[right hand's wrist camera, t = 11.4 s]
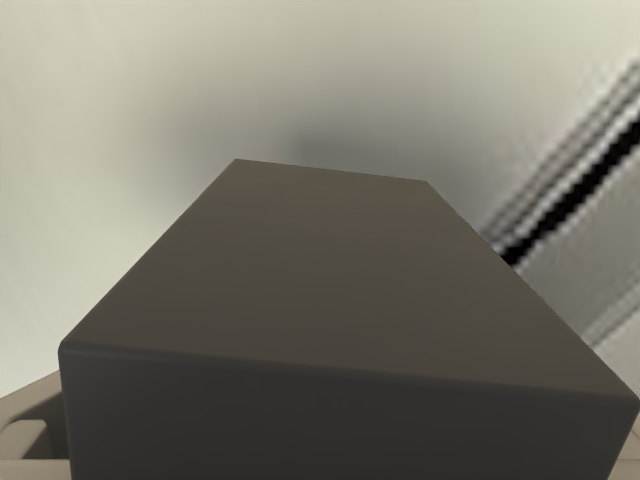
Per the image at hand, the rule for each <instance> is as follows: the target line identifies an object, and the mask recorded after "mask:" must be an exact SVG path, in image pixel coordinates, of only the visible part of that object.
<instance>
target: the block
mask: <svg viewBox="0 0 640 480" xmlns="http://www.w3.org/2000/svg"><path fill="white" fill-rule="evenodd" d="M58 359H59V368H60V378H61V387H62V396H63V406H64V415H65V424H66V434H67V443H68V452H69V462H70V471H71V480H608V477H609V475H610V473H611V471H612V469H613V467H614V465H615V463H616V460H617V458H618V456H619V454H620V452H621V450H622V448H623V446H624V443H625V441H626V439H627V437H628V435H629V433H630V431H631V429H632V427H633V424H634V422H635V420H636V418H637V416H638V414H639V412H640V399H639V397H638V396H637V395H636V394H635V393H634V392H633V391H632V390H631V389H630V388H629V387H628V386H627V385H626V384H625V383H624V382H623V381H622V380H621V379H620V378H619V377H618V376H617V375H616V374H615V373H614V372H613V371H612V370H611V369H610V368H609V367H608V366H607V365H606V364H605V363H604V362H603V361H602V360H601V359H600V358H599V357H598V356H597V355H596V354H595V353H594V352H593V351H592V350H591V349H590V348H589V347H588V345H587V344H586V343H585V342H584V341H583V340H582V339H581V338H580V337H579V336H578V335H577V334H576V333H575V332H574V331H573V330H572V329H571V328H570V327H569V326H568V325H567V324H566V323H565V322H564V321H563V320H562V319H561V318H560V317H559V316H558V315H557V314H556V313H555V312H554V311H553V310H552V309H551V308H550V307H549V306H548V305H547V304H546V303H545V302H544V301H543V300H542V299H541V298H540V297H539V296H538V295H537V294H536V293H535V292H534V291H533V290H532V289H531V287H530V286H529V285H528V284H527V283H526V282H525V281H524V280H523V279H522V278H521V277H520V276H519V275H518V274H517V273H516V272H515V271H514V270H513V269H512V268H511V267H510V266H509V265H508V264H507V263H506V262H505V261H504V260H503V259H502V258H501V257H500V256H499V255H498V254H497V253H496V252H495V251H494V250H493V249H492V248H491V247H490V246H489V245H488V244H487V243H486V242H485V241H484V240H483V239H482V238H481V237H480V236H479V235H478V234H477V233H476V232H475V231H474V229H473V228H472V227H471V226H470V225H469V224H468V223H467V222H466V221H465V220H464V219H463V218H462V217H461V216H460V215H459V214H458V213H457V212H456V211H455V210H454V209H453V208H452V207H451V206H450V205H449V204H448V203H447V202H446V201H445V200H444V199H443V198H442V197H441V196H440V195H439V194H438V193H437V192H436V191H435V190H434V189H433V188H432V187H431V186H430V185H429V184H428V183H427V182H426V181H420V180H412V179H403V178H395V177H386V176H378V175H369V174H361V173H352V172H344V171H335V170H327V169H318V168H310V167H301V166H293V165H284V164H276V163H267V162H259V161H250V160H242V159H235V160H234V161H233V162H232V163H231V164H230V165H229V166H228V167H227V168H226V169H225V170H224V171H223V172H222V173H221V174H220V175H219V176H218V177H217V178H216V180H215V181H214V182H213V183H212V184H211V185H210V186H209V187H208V188H207V189H206V190H205V191H204V192H203V193H202V194H201V195H200V196H199V197H198V198H197V199H196V201H195V202H194V203H193V204H192V205H191V206H190V207H189V208H188V209H187V210H186V211H185V212H184V213H183V214H182V215H181V216H180V217H179V218H178V219H177V220H176V222H175V223H174V224H173V225H172V226H171V227H170V228H169V229H168V230H167V231H166V232H165V233H164V234H163V235H162V236H161V237H160V238H159V239H158V240H157V241H156V243H155V244H154V245H153V246H152V247H151V248H150V249H149V250H148V251H147V252H146V253H145V254H144V255H143V256H142V257H141V258H140V259H139V260H138V261H137V262H136V264H135V265H134V266H133V267H132V268H131V269H130V270H129V271H128V272H127V273H126V274H125V275H124V276H123V277H122V278H121V279H120V280H119V281H118V282H117V283H116V285H115V286H114V287H113V288H112V289H111V290H110V291H109V292H108V293H107V294H106V295H105V296H104V297H103V298H102V299H101V300H100V301H99V302H98V303H97V304H96V306H95V307H94V308H93V309H92V310H91V311H90V312H89V313H88V314H87V315H86V316H85V317H84V318H83V319H82V320H81V321H80V322H79V323H78V324H77V325H76V327H75V328H74V329H73V330H72V331H71V332H70V333H69V334H68V335H67V336H66V337H65V338H64V339H63V340H62V341H61V343H60V346H59V349H58Z"/></svg>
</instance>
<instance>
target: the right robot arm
mask: <svg viewBox="0 0 640 480" xmlns="http://www.w3.org/2000/svg"><path fill="white" fill-rule="evenodd" d="M0 480H71V471H70V462H69V452H68V443H67V434H66V424H65V415H64V406H63V396H62V387H61V378H60V370H58V371H56V372H54V373H52V374H50V375H48V376H46V377H44V378H42V379H39V380H37V381H35V382H33V383H31V384H29V385H27V386H25V387H23V388H21V389H19V390H17V391H15V392H13V393H11V394H9V395H7V396H4V397H2V398H0ZM608 480H640V412H639V414H638V416H637V418H636V420H635V422H634V424H633V427H632V429H631V431H630V433H629V435H628V437H627V439H626V441H625V443H624V446H623V448H622V450H621V452H620V454H619V456H618V458H617V460H616V463H615V465H614V467H613V469H612V471H611V473H610V475H609V477H608Z"/></svg>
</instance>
